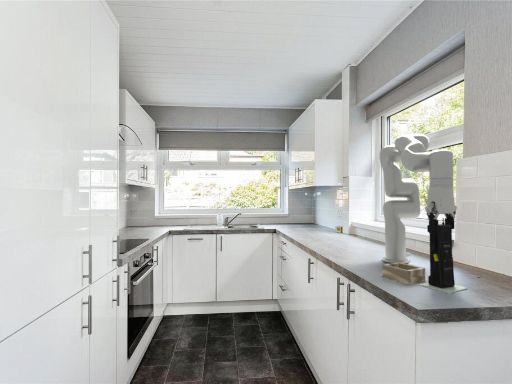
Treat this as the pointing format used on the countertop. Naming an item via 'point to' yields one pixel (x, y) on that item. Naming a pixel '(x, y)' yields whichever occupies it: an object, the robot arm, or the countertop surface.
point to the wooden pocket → (403, 273)
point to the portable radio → (441, 257)
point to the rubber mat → (446, 290)
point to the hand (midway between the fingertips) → (441, 229)
